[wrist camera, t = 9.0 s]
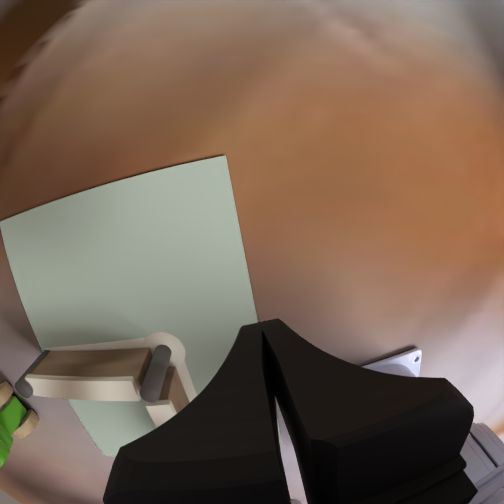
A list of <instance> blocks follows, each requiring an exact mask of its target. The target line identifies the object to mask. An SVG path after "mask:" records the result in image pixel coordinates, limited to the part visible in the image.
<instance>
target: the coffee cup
mask: <svg viewBox="0 0 504 504" xmlns="http://www.w3.org/2000/svg"><path fill="white" fill-rule="evenodd" d="M291 504H302V503H301V502H299V501H296V500H291Z"/></svg>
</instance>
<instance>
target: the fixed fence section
mask: <svg viewBox="0 0 504 504" xmlns="http://www.w3.org/2000/svg"><path fill="white" fill-rule="evenodd" d="M170 357H171V349H170V348H169V347H168V346H166V345H158V346H157V347H156V348H155V351H154V354H153V356H152V359H151V362H150V364H149V367H148V370H147V372H146V375H145V378H144V381H143V383H142V386H141V389H140V392H139V394H140V396H141V398H142V399H143V400H145V401H147V403H146V408H147V410H148V412H149V414H150V416H151V418H152V420H153V422H154V424H155V425H156V427H159V426H160V425H162V424H163V423H165V422H166V421H168V420H169V419H170V418H172V417H173V416H174V415H176V414H177V413H178V412H180V411H181V410H182V409H183V408H184V407H185V406H187V405H188V404H189V403H190V402H189V400H188V397H187V395H186V392H185V390H184V387H183V385H182V382H181V380H180V377H179V374H178V372H177V369H176V366H173V367H168V364H169V361H170Z"/></svg>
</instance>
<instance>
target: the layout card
mask: <svg viewBox="0 0 504 504" xmlns="http://www.w3.org/2000/svg"><path fill="white" fill-rule="evenodd" d="M0 228H1V233H2V237H3V241H4V245H5V249H6V253H7V256H8V260H9V264H10V267H11V270H12V274H13V277H14V280H15V283H16V286H17V289H18V292H19V295H20V298H21V301H22V303H23V306H24V309H25V311H26V314H27V317H28V319H29V322H30V324H31V327H32V329H33V331H34V334H35V336H36V338H37V341H38V343H39V345H40V347H41V349H42V352H43V351H44V350H49V351H87V350H113V349H132V348H147V347H150V349H151V352H152V356H153V354H154V351H155V348H156V347H157V346H158V345H166V346H168V347H169V348H170V349H171V357H170V361H169V364H168V367H173V366H176V369H177V372H178V374H179V377H180V380H181V382H182V385H183V387H184V390H185V392H186V395H187V397H188V400H189V402H191V401H192V400H193V399H194V398H195V397H196V396H197V395H198V394H200V393H201V391H202V390H203V389H204V388H205V387H206V386H207V385H208V383H209V382H210V381H211V380H212V378H213V377H214V376H215V374H216V373H217V371H218V370H219V368H220V367H221V365H222V364H223V362H224V361H225V359H226V357H227V355H228V353H229V352H230V350H231V348H232V346H233V344H234V342H235V340H236V337H237V335H238V332H239V329H240V328H241V326H243V325H248V324H253V323H258V320H257V315H256V310H255V305H254V299H253V294H252V289H251V284H250V279H249V274H248V269H247V264H246V259H245V254H244V248H243V243H242V238H241V233H240V228H239V223H238V217H237V212H236V207H235V202H234V196H233V191H232V186H231V181H230V175H229V170H228V165H227V160H226V155H225V156H220V157H215V158H210V159H205V160H200V161H196V162H191V163H187V164H182V165H178V166H174V167H169V168H165V169H161V170H157V171H153V172H149V173H145V174H141V175H138V176H134V177H130V178H127V179H123V180H119V181H116V182H112V183H109V184H106V185H102V186H99V187H96V188H92V189H89V190H86V191H83V192H80V193H77V194H73V195H70V196H67V197H64V198H62V199H59V200H56V201H53V202H50V203H47V204H44V205H42V206H39V207H36V208H33V209H31V210H28V211H26V212H23V213H20V214H18V215H15V216H13V217H10V218H8V219H5V220H3V221H0ZM67 400H68V401H69V403H70V405H71V406H72V408H73V410H74V411H75V413H76V415H77V416H78V418H79V419H80V421H81V423H82V424H83V426H84V427H85V429H86V430H87V432H88V433H89V435H90V436H91V438H92V439H93V441H94V442H95V443H96V445H97V446H98V448H99V449H100V450H101V452H102V453H103V455H104V456H117V453H118V451H119V448H120V447H122V446H124V445H126V444H128V443H130V442H132V441H134V440H136V439H138V438H140V437H141V436H143V435H145V434H147V433H149V432H151V431H152V430H154V429H156V428H157V427H156V425H155V424H154V422H153V420H152V418H151V416H150V414H149V412H148V410H147V408H146V403H147V401H145V400H143V399H142V398H140V401H94V400H75V399H67ZM277 423H278V419H277ZM278 433H279V444H280V443H282V438H281V433H280V428H279V423H278Z"/></svg>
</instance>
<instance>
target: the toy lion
mask: <svg viewBox="0 0 504 504" xmlns="http://www.w3.org/2000/svg"><path fill="white" fill-rule="evenodd" d="M12 393H13V388H12V387H11V386H10V385H9V383H8V382H7V381H5V382H3V383H1V384H0V468H1V466H2V465H3V464H4V462H5V461H6V459H7V458H8V455H9V453H10V450H9V449H10V447H11V445H12V443H13V438H12V437H11V435H12V434H13V432H14V433H15V434H16V435H17V436H18V437H19V438H24V437H26V436H27V435H28V434H30V433H31V432H32V430H33V429H34V428H35V427H36V425H37V423H38V421H39V417H38V416H37V415H36V414H35V412H34V411H33V410H31V409H30V410H28V411H27V410H26V409H25V407H24V406H23V405H22V404H21V403H20V402H19V400H18V399H17V398H16V397H15V396H11V394H12Z"/></svg>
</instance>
